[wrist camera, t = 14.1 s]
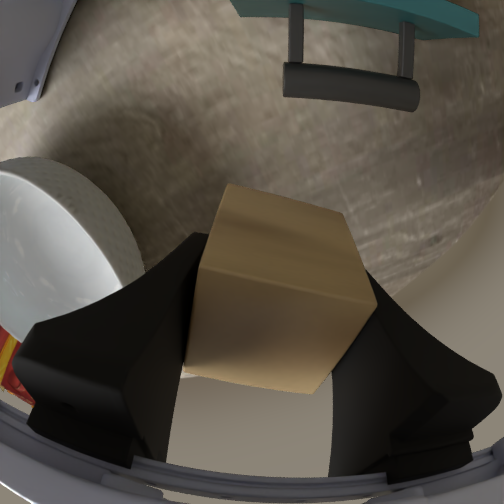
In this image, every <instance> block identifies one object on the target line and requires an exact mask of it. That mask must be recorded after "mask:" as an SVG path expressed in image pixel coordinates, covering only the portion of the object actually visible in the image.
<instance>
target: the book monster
mask: <svg viewBox="0 0 504 504" xmlns="http://www.w3.org/2000/svg"><path fill="white" fill-rule="evenodd" d="M21 344H22V343H21V342H19V341H18V340H17V339H16V338H14V337H13V336H12V335H11V334H10V333H9V332H7V331H6V330H5V329H4V328H3V327H2V326H1V325H0V388H1V389H2V391H4V389H6V390H7V391H8V392H9V393H10V394H13V395H15V396H17V397H18V398H20V399H22V400H23V401H25V402H27V403H28V404H30V405H32V408H33V406H34V404H35V401H34V399H33V398H32V397H31V396H30V394H29V393H28V392H27V390H26V389H25V388H24V386H23V385H22V384H21V382H20V381H19V380H18V378H17V376H16V375H15V373H14V370H13V367H12V360H13V357H14V356H15V354H16V352H17V351H18V349H19V347H20V346H21Z"/></svg>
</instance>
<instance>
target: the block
mask: <svg viewBox="0 0 504 504" xmlns="http://www.w3.org/2000/svg"><path fill="white" fill-rule="evenodd" d="M376 307H377V301H376V298H375V295H374V292H373V289H372V287H371V284H370V281H369V278H368V276H367V273H366V270H365V268H364V265H363V263H362V260H361V257H360V255H359V252H358V250H357V247H356V245H355V242H354V240H353V237H352V235H351V232H350V230H349V228H348V225H347V223H346V221H345V218H344V216H343V214H342V213H340V212H336V211H333V210H329V209H326V208H322V207H319V206H315V205H312V204H308V203H304V202H301V201H297V200H293V199H290V198H286V197H282V196H278V195H274V194H271V193H267V192H263V191H259V190H255V189H251V188H247V187H243V186H238V185H234V184H230V183H229V184H227V186H226V189H225V191H224V194H223V197H222V200H221V203H220V205H219V208H218V211H217V214H216V217H215V220H214V223H213V225H212V228H211V231H210V234H209V237H208V240H207V243H206V246H205V249H204V252H203V255H202V258H201V261H200V264H199V268H198V274H197V279H196V285H195V291H194V297H193V303H192V310H191V316H190V323H189V329H188V336H187V343H186V350H185V357H184V364H183V371H184V372H186V373H190V374H194V375H198V376H203V377H207V378H212V379H217V380H222V381H227V382H232V383H238V384H243V385H248V386H255V387H260V388H267V389H273V390H280V391H288V392H295V393H304V394H314V393H315V391H316V390H317V389H318V388H319V387H320V385H321V384H322V382H323V381H324V380H325V379H326V378H327V376H328V375H329V374H330V372H331V371H332V370H333V369H334V367H335V366H336V365H337V363H338V362H339V361H340V359H341V358H342V357H343V355H344V354H345V352H346V351H347V350H348V348H349V347H350V346H351V344H352V343H353V341H354V340H355V339H356V337H357V336H358V334H359V333H360V331H361V330H362V328H363V327H364V326H365V324H366V323H367V321H368V320H369V318H370V317H371V315H372V314H373V312H374V311H375V309H376Z"/></svg>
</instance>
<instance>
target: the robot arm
mask: <svg viewBox="0 0 504 504" xmlns="http://www.w3.org/2000/svg"><path fill="white" fill-rule="evenodd" d="M76 2H77V0H0V108H2V107H5V106H7V105H10V104H13V103H17V102H20V101H23V100H26V99H27V100H29V101H31V102H35V101H38V100H39V98H40V96H41V92H42V89H43V85H44V82H45V79H46V76H47V73H48V70H49V67H50V64H51V61H52V58H53V56H54V53H55V50H56V48H57V45H58V42H59V40H60V37H61V35H62V33H63V30H64V28H65V26H66V23H67V21H68V19H69V17H70V15H71V12H72V10H73V8H74V6H75V4H76ZM38 80H39V84H38V83H37V82H38ZM208 237H209V234H204V233H198V232H194V233H192V234H191V235H190V236H189V237H188V238H187V239H186V240H184V241H183V242H182V243H181V244H180V245H179V246H178V247H177V248H176V249H175V250H173V251H172V252H171V253H170V254H169V255H168V256H166V257H165V258H164V259H163V260H162V261H160V262H159V263H158V264H157V265H155V266H154V267H153V268H151V269H150V270H149V271H147V272H146V273H145V274H143V275H142V276H141V277H139V278H138V279H136V280H135V281H133V282H131V283H130V284H128V285H127V286H125V287H123V288H122V289H120V290H118V291H116V292H114V293H112V294H110V295H108V296H106V297H104V298H102V299H100V300H98V301H96V302H94V303H92V304H90V305H87V306H85V307H83V308H80V309H77V310H75V311H72V312H70V313H67V314H64V315H61V316H58V317H54V318H51V319H48V320H45V321H41V322H38V323H35V324H34V325H33V327H32V328H31V330H30V331H29V333H28V334H27V336H26V337H25V339H24V341H23V342H22V344H21V346H20V347H19V349H18V351H17V352H16V354H15V356H14V357H13V360H12V367H13V370H14V373H15V375H16V376H17V378H18V380H19V381H20V382H21V384H22V385H23V386H24V388H25V389H26V390H27V392H28V393H29V394H30V396H31V397H32V398H33V399H34V401H35V404H34V406H33V409H32V411H31V413H30V415H28V414H26V413H24V412H22V411H20V410H18V409H16V408H14V407H12V406H11V405H9V404H7V403H5V402H3V401H2V400H0V483H1V484H2V485H4V486H5V487H7V488H8V489H9V490H11V491H12V492H14V493H16V494H18V495H19V496H20V497H22V498H24V499H25V500H27V501H28V502H30V503H32V504H187V503H180V502H174V501H169V500H167V499H165V498H163V492H162V491H161V490H158V489H155V488H152V487H149V486H153V487H157V488H161V489H165V490H170V491H175V492H180V493H185V494H191V495H197V496H204V497H209V498H217V499H225V500H226V499H227V500H235V501H246V502H263V503H318V502H335V501H345V500H355V499H363V498H371V497H374V498H371V499H370V500H368V501H367V502H365V503H363V504H503V503H504V437H503V438H501V439H500V440H499V441H497V442H496V443H495V444H493V446H491V447H489V448H486V449H483V450H480V451H477V452H473V453H472V452H471V448H470V444H469V441H471V440H472V439H473V437H474V435H473V432H472V428H474V427H475V426H476V425H477V424H478V423H480V422H481V421H482V420H483V419H485V418H486V417H487V416H488V415H489V414H490V413H491V412H492V411H494V410H495V408H496V407H497V406H498V405H499V403H500V401H501V398H502V393H501V390H500V388H499V385H498V383H497V380H496V378H495V376H494V374H492V373H490V372H489V371H487V370H485V369H483V368H481V367H479V366H477V365H475V364H473V363H472V362H470V361H468V360H467V359H465V358H463V357H462V356H460V355H458V354H457V353H455V352H454V351H453V350H451V349H450V348H448V347H447V346H445V345H444V344H443V343H441V342H440V341H439V340H437V339H436V338H435V337H433V336H432V335H431V334H430V333H428V332H427V331H426V330H425V329H423V328H422V327H421V326H420V325H419V324H418V323H417V322H416V321H414V320H413V319H412V318H411V317H410V316H409V315H408V314H407V313H406V312H405V311H404V310H403V309H402V308H401V307H400V306H399V305H398V304H397V303H396V302H395V301H394V300H393V299H392V298H391V297H390V296H389V295H388V294H387V293H386V292H385V290H384V289H383V288H382V287H381V286H380V285H379V284H378V283H377V282H376V280H375V279H374V278H373V277H372V276H371V275H370V274H369V273H368V271H367V270H366V269H365V270H366V273H367V276H368V278H369V281H370V284H371V287H372V289H373V292H374V295H375V298H376V301H377V307H376V309H375V311H374V312H373V314H372V315H371V317H370V318H369V320H368V321H367V323H366V324H365V326H364V327H363V328H362V330H361V331H360V333H359V334H358V336H357V337H356V339H355V340H354V341H353V343H352V344H351V346H350V347H349V348H348V350H347V351H346V352H345V354H344V355H343V357H342V358H341V359H340V361H339V362H338V363H337V365H336V366H335V367H334V369H333V370H332V371H331V372H332V380H333V430H332V447H331V457H330V465H329V473H328V477H323V478H322V477H320V478H285V477H283V478H282V477H262V476H248V475H238V474H229V473H220V472H213V471H207V470H200V469H194V468H189V467H183V466H178V465H173V464H168V463H166V458H167V450H168V444H169V437H170V430H171V424H172V418H173V412H174V407H175V401H176V396H177V391H178V385H179V381H180V376H181V371H182V366H183V362H184V357H185V350H186V343H187V336H188V329H189V323H190V316H191V310H192V303H193V297H194V291H195V285H196V279H197V274H198V268H199V264H200V261H201V258H202V255H203V252H204V249H205V246H206V243H207V240H208ZM144 484H145V485H144ZM147 485H148V486H147ZM377 496H378V497H377Z"/></svg>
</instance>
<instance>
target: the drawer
mask: <svg viewBox="0 0 504 504" xmlns="http://www.w3.org/2000/svg"><path fill="white" fill-rule="evenodd" d="M230 1H231V3H232V5H233V6H234V8H235V9H236V11H237V13H238V14H239V16H240V17H284V18H289V31H288V62H284V64H283V97H292V98H308V99H321V100H332V101H341V102H350V103H358V104H365V105H372V106H379V107H385V108H391V109H396V110H402V111H407V112H414V111H415V110H416V109H417V107H418V105H419V101H420V89H419V85H418V83H417V82H416V81H415V80H412V79H413V66H414V41H415V38H416V39H420V40H431V39H445V38H469V37H479V15H478V14H477V13H474V12H472V11H470V10H468V9H466V8H463V7H461V6H459V5H456V4H454V3H451V2H449V1H446V0H230ZM304 19H313V20H323V21H332V22H339V23H346V24H353V25H359V26H364V27H370V28H375V29H380V30H384V31H389V32H393V33H397V34H399V50H398V71H397V76H393V75H388V74H383V73H378V72H372V71H366V70H360V69H353V68H345V67H338V66H329V65H319V64H307V63H303V44H304Z"/></svg>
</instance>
